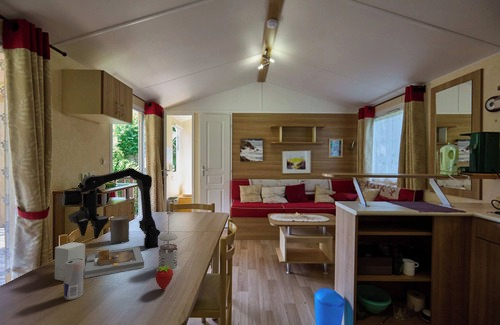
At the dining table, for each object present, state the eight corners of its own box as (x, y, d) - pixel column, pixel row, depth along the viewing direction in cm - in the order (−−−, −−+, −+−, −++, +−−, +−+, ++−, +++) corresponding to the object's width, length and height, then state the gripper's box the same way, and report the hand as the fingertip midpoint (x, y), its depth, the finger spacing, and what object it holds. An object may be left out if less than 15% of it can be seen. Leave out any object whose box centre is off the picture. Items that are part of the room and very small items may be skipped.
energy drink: (70, 292, 88) (71, 258, 88) (86, 291, 88) (86, 258, 89) (60, 300, 83) (60, 264, 83) (77, 300, 83) (77, 264, 83)
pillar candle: (132, 239, 149) (132, 214, 149) (122, 244, 139) (122, 217, 140) (117, 238, 150) (117, 213, 150) (106, 243, 140) (106, 217, 140)
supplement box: (85, 274, 102) (86, 243, 102) (67, 282, 95) (67, 249, 95) (72, 271, 104) (73, 241, 104) (53, 279, 97) (54, 246, 97)
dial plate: (138, 251, 129) (138, 246, 129) (144, 267, 110) (144, 260, 110) (88, 259, 118) (88, 253, 118) (84, 278, 99) (84, 270, 99)
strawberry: (175, 285, 94) (176, 258, 94) (168, 295, 87) (169, 266, 87) (160, 284, 95) (160, 258, 95) (151, 295, 87) (152, 266, 87)
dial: (130, 252, 123) (131, 242, 123) (133, 262, 111) (133, 251, 111) (97, 257, 116) (97, 246, 116) (96, 269, 104) (96, 256, 104)
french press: (157, 275, 102) (158, 214, 102) (154, 264, 113) (155, 209, 113) (181, 270, 107) (182, 212, 107) (176, 261, 117) (177, 207, 117)
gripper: (58, 204, 112) (58, 239, 112) (85, 208, 104) (84, 245, 104) (83, 201, 122) (83, 233, 122) (109, 204, 114) (109, 238, 114)
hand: (89, 237), depth 115 cm, fingers open, 9 cm apart
